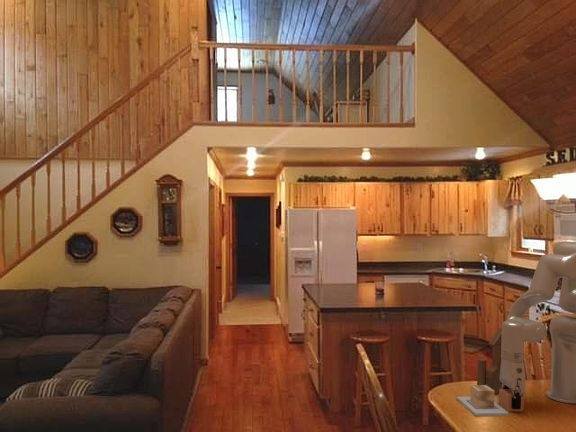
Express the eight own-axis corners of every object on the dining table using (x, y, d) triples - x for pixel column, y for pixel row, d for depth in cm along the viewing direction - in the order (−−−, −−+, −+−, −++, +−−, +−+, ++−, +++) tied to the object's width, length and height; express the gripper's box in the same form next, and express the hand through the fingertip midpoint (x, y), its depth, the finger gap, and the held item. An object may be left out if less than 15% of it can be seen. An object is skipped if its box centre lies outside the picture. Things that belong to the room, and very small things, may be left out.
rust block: (514, 405, 191) (514, 388, 191) (523, 411, 185) (523, 394, 185) (498, 405, 191) (499, 389, 191) (507, 411, 185) (507, 394, 185)
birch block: (485, 401, 191) (486, 385, 191) (493, 407, 185) (494, 390, 185) (470, 401, 191) (470, 385, 191) (477, 407, 185) (478, 391, 185)
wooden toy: (501, 385, 213) (503, 324, 212) (516, 390, 207) (517, 327, 206) (475, 390, 205) (476, 327, 205) (488, 396, 200) (490, 331, 199)
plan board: (487, 399, 196) (487, 396, 196) (508, 415, 181) (509, 412, 180) (456, 399, 195) (456, 396, 195) (475, 416, 179) (475, 413, 179)
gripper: (535, 362, 179) (534, 414, 180) (509, 349, 197) (508, 396, 197) (515, 362, 179) (513, 414, 179) (490, 349, 196) (489, 396, 196)
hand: (510, 404), depth 188 cm, fingers open, 6 cm apart
